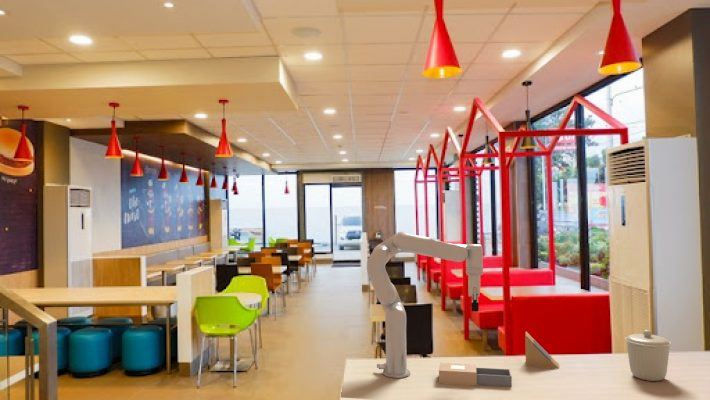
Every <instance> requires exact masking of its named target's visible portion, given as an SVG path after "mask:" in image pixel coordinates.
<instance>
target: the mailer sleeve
mask: <svg viewBox="0 0 710 400" xmlns="http://www.w3.org/2000/svg"><path fill="white" fill-rule="evenodd" d="M476 368H477V364H473V363H472V364H471V363H452V362H451V363H449V362H439V367H438V383H439V384H445V385H446V384H447V385H461V386H462V385H463V386H464V385H465V386H478V385H477V372H476Z"/></svg>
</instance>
